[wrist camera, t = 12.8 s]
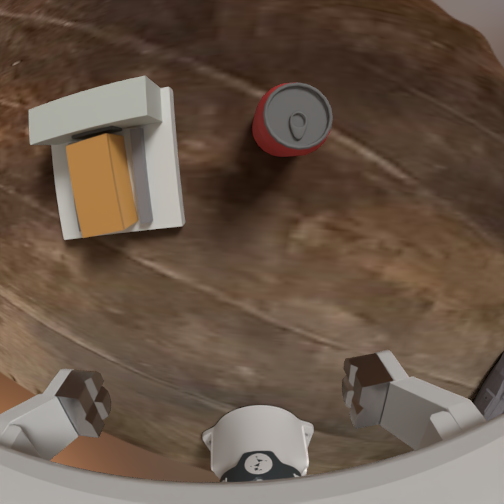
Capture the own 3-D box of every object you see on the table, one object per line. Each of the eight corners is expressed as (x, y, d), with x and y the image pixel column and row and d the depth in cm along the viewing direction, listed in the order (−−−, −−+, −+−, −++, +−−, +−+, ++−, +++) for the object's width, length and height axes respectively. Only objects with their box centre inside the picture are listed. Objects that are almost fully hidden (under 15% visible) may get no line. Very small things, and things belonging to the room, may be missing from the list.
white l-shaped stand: (185, 222, 37) (171, 239, 30) (71, 236, 37) (39, 253, 30) (172, 90, 33) (155, 73, 25) (57, 117, 33) (22, 112, 25)
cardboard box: (138, 220, 35) (123, 230, 30) (101, 227, 35) (82, 238, 30) (123, 135, 32) (106, 133, 27) (86, 146, 32) (65, 146, 27)
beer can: (251, 156, 35) (256, 155, 24) (251, 101, 34) (256, 74, 22) (308, 157, 36) (338, 158, 24) (308, 103, 34) (338, 80, 22)
